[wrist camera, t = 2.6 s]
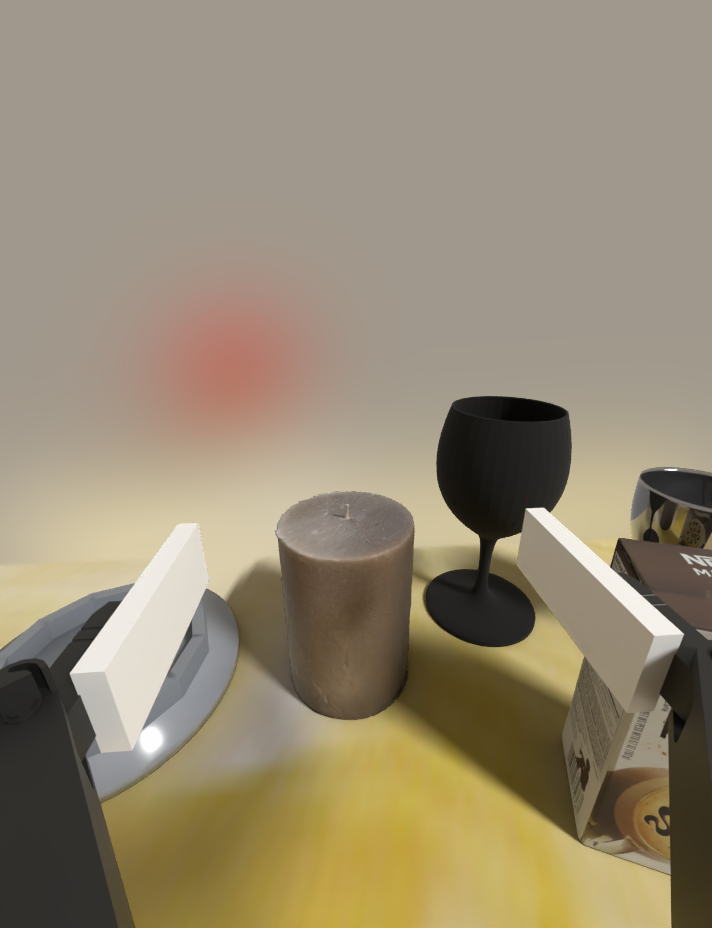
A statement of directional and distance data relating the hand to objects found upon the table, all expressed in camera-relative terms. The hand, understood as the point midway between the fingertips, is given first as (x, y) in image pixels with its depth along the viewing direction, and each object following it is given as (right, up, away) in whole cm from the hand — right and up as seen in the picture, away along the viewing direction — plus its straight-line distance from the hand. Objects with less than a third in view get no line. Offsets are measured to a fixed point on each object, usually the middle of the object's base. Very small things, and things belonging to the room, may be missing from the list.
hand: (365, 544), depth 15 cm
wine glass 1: (+12, -11, +22) cm, 28 cm away
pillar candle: (-1, -14, +16) cm, 21 cm away
